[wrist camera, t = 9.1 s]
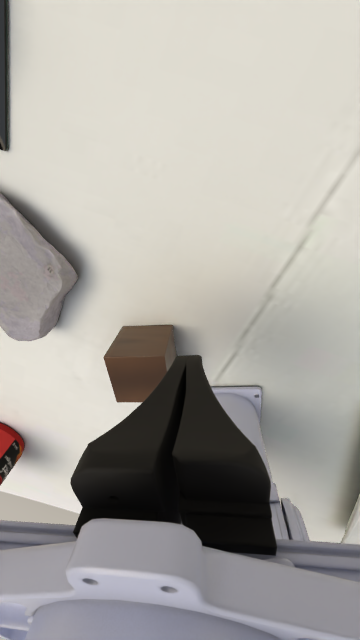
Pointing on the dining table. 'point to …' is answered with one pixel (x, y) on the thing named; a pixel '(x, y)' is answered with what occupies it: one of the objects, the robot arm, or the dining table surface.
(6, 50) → the build plate
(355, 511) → the square plate
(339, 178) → the dining table surface
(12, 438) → the canned food
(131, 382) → the walnut cube
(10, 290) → the stone block
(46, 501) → the dining table surface
